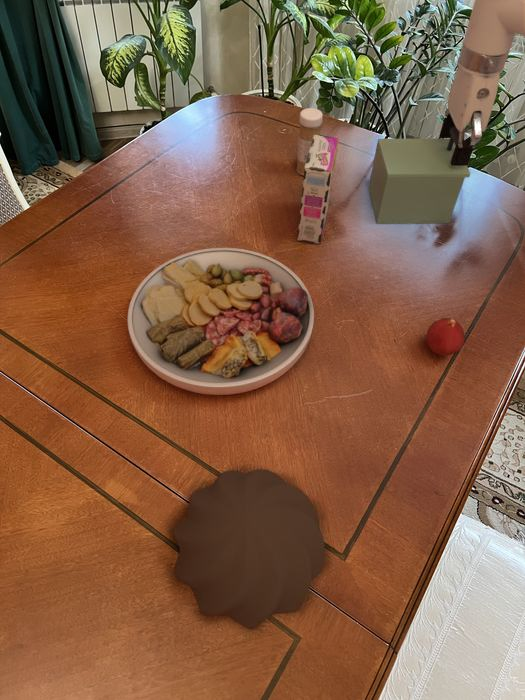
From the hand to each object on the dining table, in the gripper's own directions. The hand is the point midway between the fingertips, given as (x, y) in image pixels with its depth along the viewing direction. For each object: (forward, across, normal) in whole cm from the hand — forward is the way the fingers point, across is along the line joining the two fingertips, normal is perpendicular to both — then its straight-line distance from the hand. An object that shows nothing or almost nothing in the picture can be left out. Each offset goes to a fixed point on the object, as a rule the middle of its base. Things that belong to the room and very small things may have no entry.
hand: (452, 150), depth 108 cm
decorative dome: (+13, -69, +40) cm, 81 cm away
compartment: (+13, 0, +6) cm, 14 cm away
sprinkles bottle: (+13, +12, +26) cm, 31 cm away
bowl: (+13, -33, +44) cm, 56 cm away
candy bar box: (+13, -6, +26) cm, 30 cm away
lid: (+2, 0, +6) cm, 6 cm away
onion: (+13, -38, +8) cm, 41 cm away
